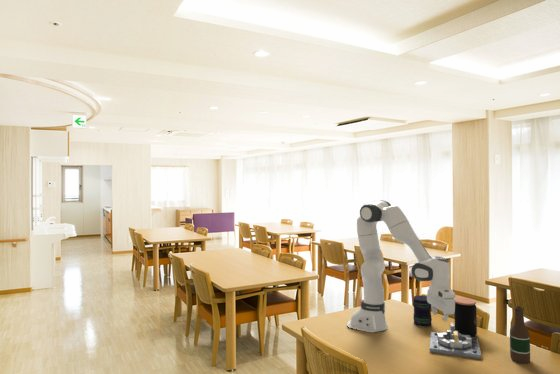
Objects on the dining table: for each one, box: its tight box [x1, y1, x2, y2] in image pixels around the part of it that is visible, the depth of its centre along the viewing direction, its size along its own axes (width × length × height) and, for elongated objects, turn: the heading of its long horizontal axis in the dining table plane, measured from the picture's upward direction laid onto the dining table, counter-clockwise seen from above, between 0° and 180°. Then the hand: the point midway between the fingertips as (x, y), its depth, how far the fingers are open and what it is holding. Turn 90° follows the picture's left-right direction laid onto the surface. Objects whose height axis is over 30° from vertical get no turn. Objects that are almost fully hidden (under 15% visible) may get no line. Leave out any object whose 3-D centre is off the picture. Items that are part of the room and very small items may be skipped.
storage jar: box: [412, 295, 433, 328], centre depth 223 cm, size 10×10×15 cm
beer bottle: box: [509, 305, 531, 364], centre depth 175 cm, size 8×8×24 cm
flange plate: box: [429, 331, 482, 360], centre depth 191 cm, size 22×22×6 cm
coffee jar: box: [453, 297, 478, 337], centre depth 206 cm, size 11×11×18 cm
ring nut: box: [436, 322, 472, 349], centre depth 191 cm, size 18×15×6 cm
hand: (439, 317), depth 193 cm, fingers open, 8 cm apart
